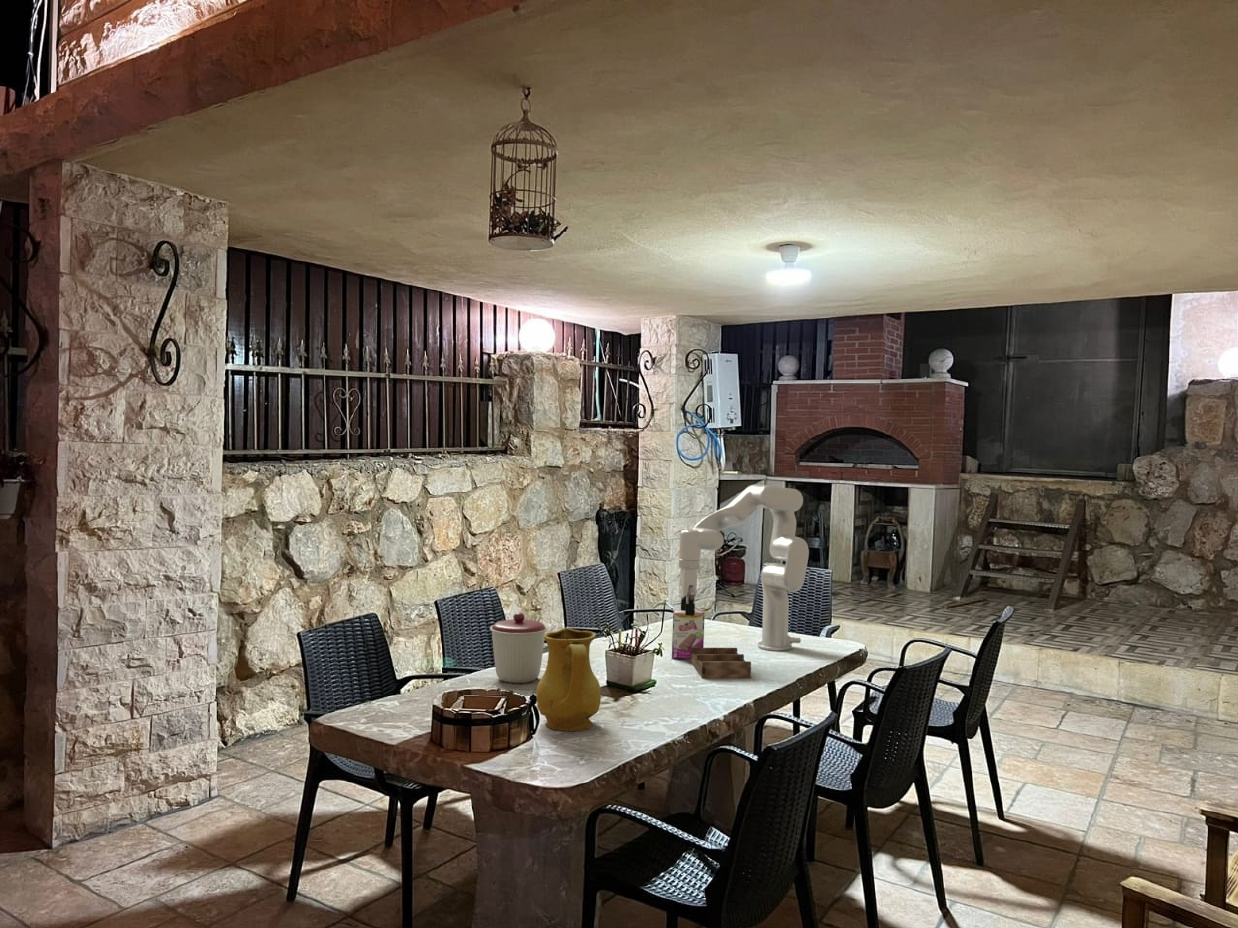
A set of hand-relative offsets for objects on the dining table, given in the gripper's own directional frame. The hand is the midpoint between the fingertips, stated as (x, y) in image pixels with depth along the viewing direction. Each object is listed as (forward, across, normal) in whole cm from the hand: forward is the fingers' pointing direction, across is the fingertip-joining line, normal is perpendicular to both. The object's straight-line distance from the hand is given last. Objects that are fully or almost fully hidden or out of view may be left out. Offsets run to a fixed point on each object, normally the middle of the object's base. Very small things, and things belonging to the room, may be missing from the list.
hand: (687, 612), depth 312 cm
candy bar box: (+16, 0, +1) cm, 16 cm away
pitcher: (+18, +75, -44) cm, 89 cm away
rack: (+16, +17, +9) cm, 25 cm away
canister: (+18, +28, -58) cm, 67 cm away
